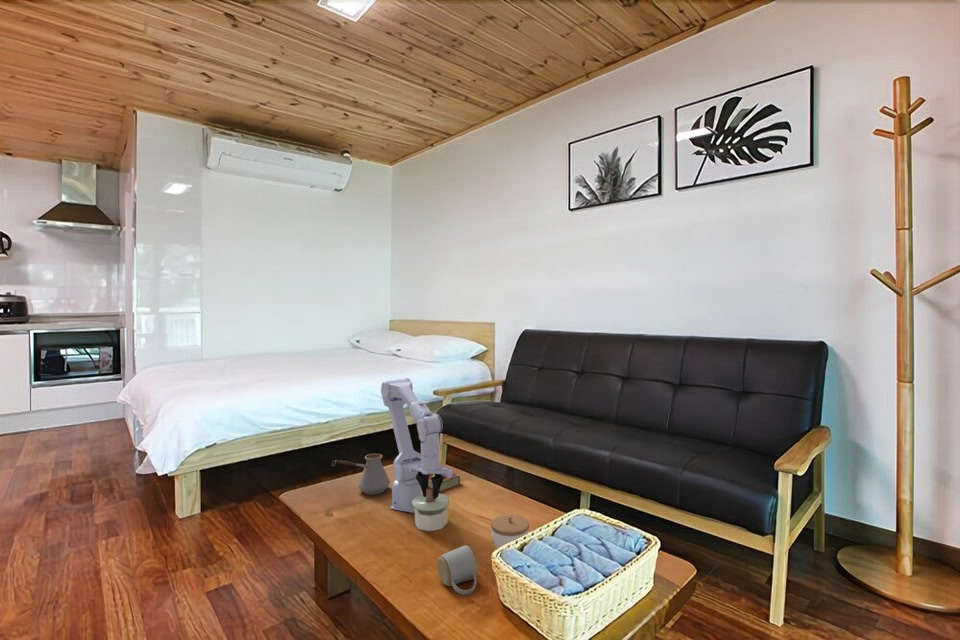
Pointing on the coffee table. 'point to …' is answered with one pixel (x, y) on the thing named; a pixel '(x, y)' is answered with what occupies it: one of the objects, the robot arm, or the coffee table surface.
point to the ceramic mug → (458, 568)
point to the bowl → (431, 519)
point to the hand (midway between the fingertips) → (430, 496)
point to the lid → (430, 501)
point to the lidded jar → (508, 528)
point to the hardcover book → (446, 481)
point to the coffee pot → (371, 475)
